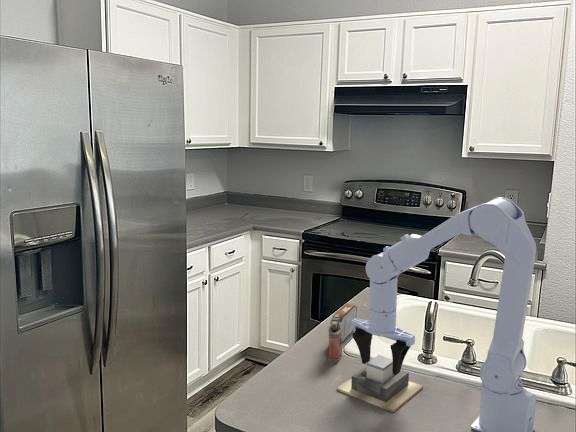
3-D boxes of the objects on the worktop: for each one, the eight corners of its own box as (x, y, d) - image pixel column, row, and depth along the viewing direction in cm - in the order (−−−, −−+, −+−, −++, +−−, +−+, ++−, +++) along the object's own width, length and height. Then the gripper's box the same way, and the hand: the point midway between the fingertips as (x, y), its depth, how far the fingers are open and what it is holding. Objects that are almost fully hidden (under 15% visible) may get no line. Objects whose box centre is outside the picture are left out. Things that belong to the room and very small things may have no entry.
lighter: (340, 363, 130) (341, 324, 128) (326, 362, 130) (326, 323, 128) (343, 349, 137) (344, 312, 135) (330, 348, 138) (331, 311, 136)
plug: (393, 385, 118) (394, 360, 117) (382, 394, 115) (383, 368, 113) (378, 379, 121) (378, 354, 120) (366, 388, 117) (366, 362, 116)
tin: (347, 326, 152) (348, 298, 150) (358, 328, 151) (359, 300, 149) (327, 347, 139) (327, 316, 137) (338, 349, 138) (339, 318, 136)
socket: (423, 388, 118) (423, 373, 117) (393, 412, 108) (394, 396, 108) (368, 368, 127) (368, 354, 126) (336, 389, 117) (336, 375, 117)
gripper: (422, 310, 113) (420, 370, 115) (364, 295, 122) (362, 351, 124) (406, 320, 107) (404, 383, 110) (346, 304, 117) (345, 362, 119)
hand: (380, 367), depth 117 cm, fingers open, 7 cm apart
